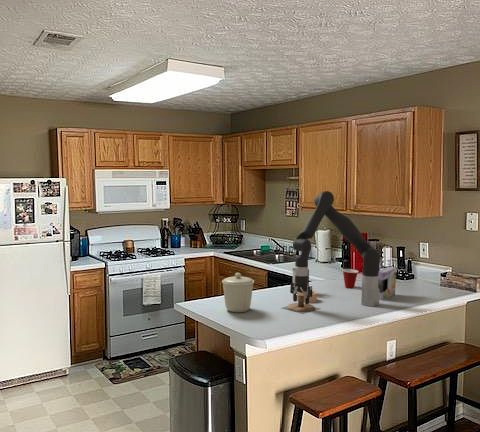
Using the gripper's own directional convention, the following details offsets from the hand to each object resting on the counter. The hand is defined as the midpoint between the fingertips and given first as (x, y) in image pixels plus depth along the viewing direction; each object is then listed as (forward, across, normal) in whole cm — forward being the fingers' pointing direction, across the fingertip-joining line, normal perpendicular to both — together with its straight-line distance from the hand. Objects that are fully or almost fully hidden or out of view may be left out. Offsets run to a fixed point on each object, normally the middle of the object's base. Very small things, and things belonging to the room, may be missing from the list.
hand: (301, 302), depth 278 cm
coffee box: (+4, +24, -28) cm, 37 cm away
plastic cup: (+4, +13, -66) cm, 67 cm away
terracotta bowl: (+4, +10, -17) cm, 20 cm away
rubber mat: (+4, 0, 0) cm, 4 cm away
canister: (+4, +22, +28) cm, 36 cm away
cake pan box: (+4, -17, -60) cm, 62 cm away
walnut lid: (+3, 0, 0) cm, 3 cm away
